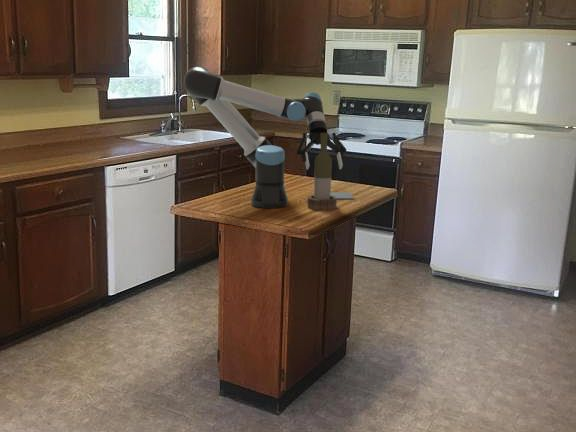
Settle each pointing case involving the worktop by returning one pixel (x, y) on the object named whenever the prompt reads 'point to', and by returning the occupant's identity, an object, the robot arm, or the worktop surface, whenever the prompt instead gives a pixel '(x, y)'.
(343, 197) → the mat
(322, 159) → the bottle
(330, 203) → the ring stand
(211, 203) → the worktop surface
